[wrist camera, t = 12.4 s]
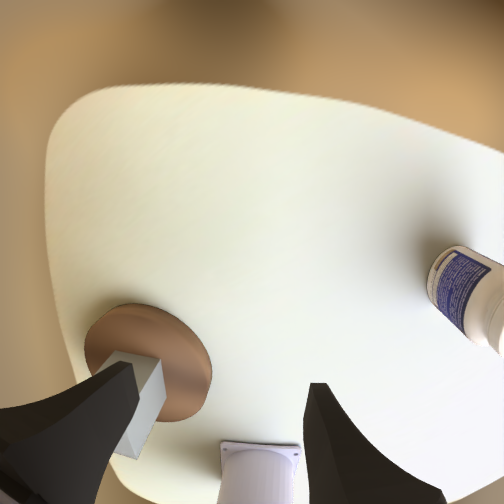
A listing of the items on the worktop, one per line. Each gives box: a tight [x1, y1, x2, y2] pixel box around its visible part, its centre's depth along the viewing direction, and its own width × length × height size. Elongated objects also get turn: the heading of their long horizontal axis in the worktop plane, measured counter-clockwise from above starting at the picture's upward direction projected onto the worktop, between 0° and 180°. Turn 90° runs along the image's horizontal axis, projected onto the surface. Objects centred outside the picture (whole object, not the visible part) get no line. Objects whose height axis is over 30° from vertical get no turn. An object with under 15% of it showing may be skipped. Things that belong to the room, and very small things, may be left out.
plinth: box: [84, 304, 212, 422], centre depth 22 cm, size 11×11×2 cm
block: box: [94, 350, 167, 459], centre depth 18 cm, size 4×4×7 cm
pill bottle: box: [427, 246, 504, 358], centre depth 15 cm, size 5×5×9 cm
